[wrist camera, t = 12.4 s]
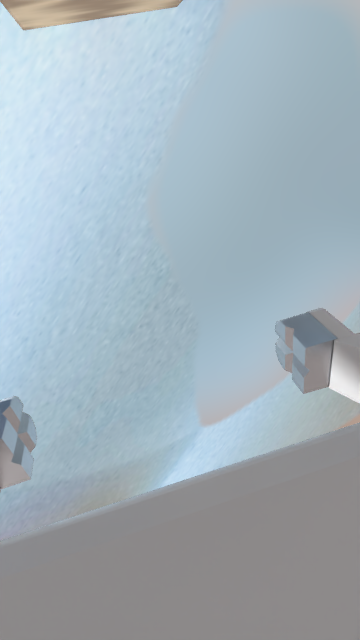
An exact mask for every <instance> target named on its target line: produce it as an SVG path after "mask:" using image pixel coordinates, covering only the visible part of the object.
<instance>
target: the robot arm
mask: <svg viewBox="0 0 360 640" xmlns="http://www.w3.org/2000/svg"><path fill="white" fill-rule="evenodd" d="M275 332H276V333H277V335H278V336H279V338H278V340H277V342H276V353H277V357H278V360H279V362H280V364H281V365H282V367H283V368H284V369H285V370H286V371H288V372H291V373H292V380H293V381H294V382H295V384H296V385H297V386H298V388H299V389H300V390H301V391H302V393H303V394H305V393H308V392H312V391H315V390H319V389H322V388H326V387H329V388H330V389H332V390H334V391H336V392H338V393H340V394H342V395H344V396H346V397H348V398H350V399H352V400H354V401H356V402H358V403H360V333H356V334H354V333H353V332H352V331H351V330H349V329H348V328H347V327H346V326H345V325H343V324H342V323H341V322H340V321H338V320H337V319H336V318H335V317H333V316H332V315H331V314H330V313H329V312H327V311H326V310H325V309H323V308H318V309H315V310H312V311H309V312H306V313H304V314H300V315H297V316H293V317H290V318H287V319H283V320H280V321H277V322H276V326H275ZM22 410H23V403H22V402H21V400H20V399H19V397H16V396H13V397H9V398H5V399H1V400H0V489H3V488H6V487H9V486H12V485H15V484H18V483H21V482H24V481H27V480H30V479H31V476H32V469H33V462H34V458H33V456H32V455H31V451H32V450H33V449H34V448H35V446H36V440H37V435H36V427H35V425H34V422H33V420H32V418H31V416H30V415H28V414H26V413H24V412H22ZM0 492H1V490H0ZM0 640H360V423H357V424H354V425H351V426H347V427H344V428H341V429H338V430H335V431H332V432H329V433H326V434H323V435H320V436H317V437H314V438H311V439H308V440H305V441H302V442H299V443H296V444H293V445H290V446H287V447H283V448H280V449H277V450H274V451H271V452H268V453H265V454H262V455H259V456H256V457H253V458H250V459H247V460H244V461H241V462H238V463H235V464H232V465H229V466H226V467H223V468H220V469H217V470H213V471H210V472H207V473H204V474H201V475H198V476H195V477H192V478H189V479H186V480H183V481H180V482H177V483H174V484H171V485H168V486H165V487H162V488H159V489H156V490H153V491H150V492H147V493H144V494H141V495H137V496H134V497H131V498H128V499H125V500H122V501H119V502H116V503H113V504H110V505H107V506H104V507H101V508H98V509H95V510H92V511H89V512H86V513H83V514H80V515H77V516H74V517H71V518H68V519H65V520H61V521H58V522H55V523H52V524H49V525H46V526H43V527H40V528H37V529H34V530H31V531H28V532H25V533H22V534H19V535H16V536H13V537H10V538H7V539H4V540H1V541H0Z"/></svg>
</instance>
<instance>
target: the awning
mask: <svg viewBox="0 0 360 640" xmlns="http://www.w3.org/2000/svg"><path fill="white" fill-rule="evenodd" d="M0 2H1V3H2V4H3V5H4V7H5V8H6V9H7V10H8V12H9V13H10V14H11V15H12V17H13V18H14V19H15V20H16V22H17V23H18V24H19V25H20V27H21V28H22V29H23V30H29V29H35V28H42V27H48V26H55V25H61V24H68V23H74V22H81V21H87V20H94V19H100V18H107V17H114V16H120V15H127V14H133V13H140V12H146V11H153V10H159V9H166V8H172V7H177V6H178V5H179V4H180V3H181V2H182V0H0Z"/></svg>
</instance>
